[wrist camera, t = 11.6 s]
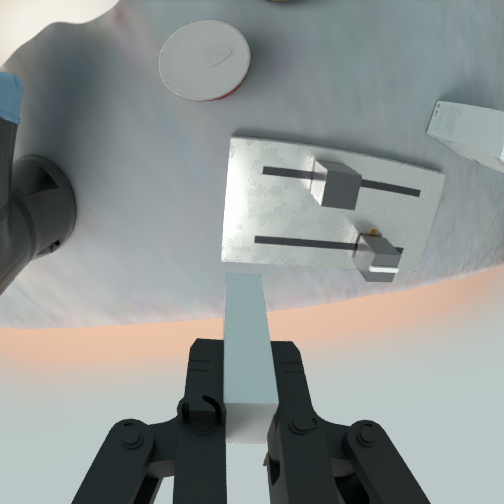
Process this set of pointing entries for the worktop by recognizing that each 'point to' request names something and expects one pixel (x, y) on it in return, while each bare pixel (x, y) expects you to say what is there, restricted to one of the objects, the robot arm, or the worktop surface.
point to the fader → (376, 259)
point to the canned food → (204, 60)
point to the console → (323, 204)
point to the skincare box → (470, 132)
